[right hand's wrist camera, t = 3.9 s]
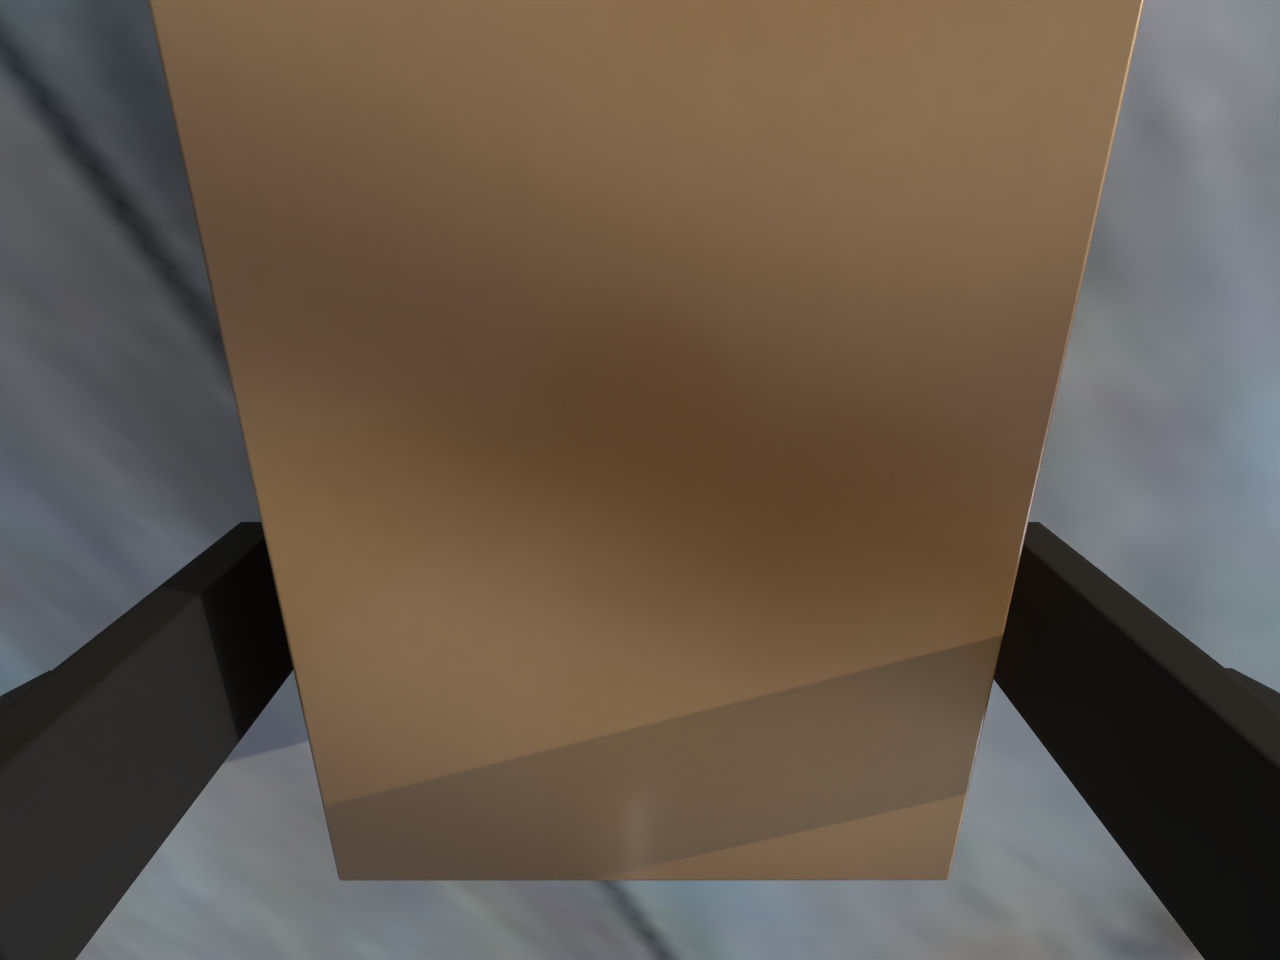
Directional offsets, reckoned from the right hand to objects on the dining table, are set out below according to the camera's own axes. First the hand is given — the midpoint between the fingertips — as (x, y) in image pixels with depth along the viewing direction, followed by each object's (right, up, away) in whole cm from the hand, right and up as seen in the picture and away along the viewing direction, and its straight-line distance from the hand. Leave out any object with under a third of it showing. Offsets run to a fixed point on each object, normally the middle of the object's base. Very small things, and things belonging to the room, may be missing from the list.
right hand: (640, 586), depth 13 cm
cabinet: (0, +7, +3) cm, 7 cm away
